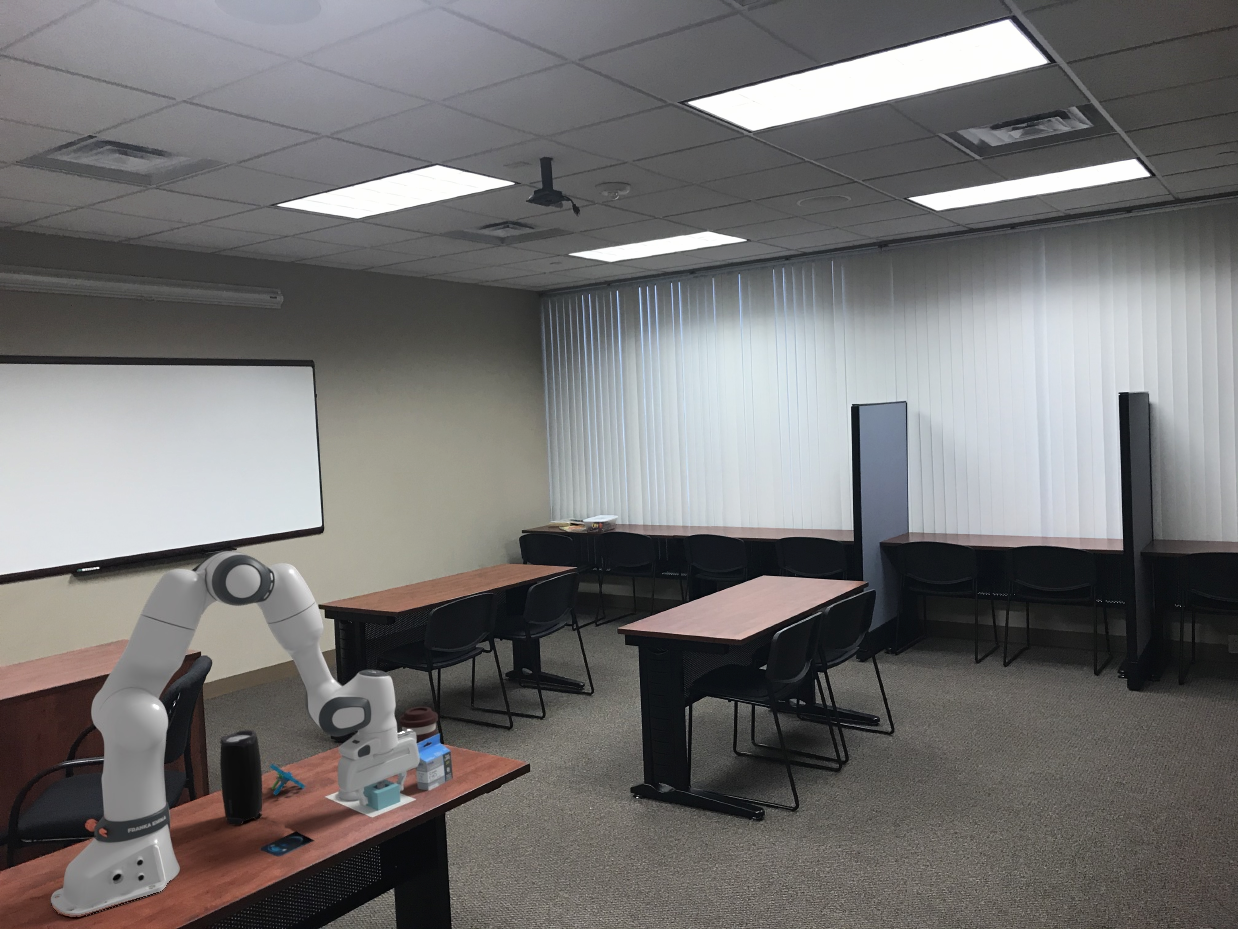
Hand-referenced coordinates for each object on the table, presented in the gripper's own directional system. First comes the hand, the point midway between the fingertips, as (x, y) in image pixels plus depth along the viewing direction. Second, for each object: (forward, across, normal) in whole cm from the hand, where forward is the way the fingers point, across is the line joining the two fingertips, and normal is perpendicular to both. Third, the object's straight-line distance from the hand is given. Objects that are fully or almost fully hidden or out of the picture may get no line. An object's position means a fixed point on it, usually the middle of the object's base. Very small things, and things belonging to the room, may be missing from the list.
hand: (381, 797), depth 213 cm
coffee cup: (+3, -22, -15) cm, 27 cm away
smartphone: (+3, +20, -2) cm, 20 cm away
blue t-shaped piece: (+3, +7, -30) cm, 31 cm away
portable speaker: (+3, +22, -23) cm, 32 cm away
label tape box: (+3, -15, 0) cm, 15 cm away
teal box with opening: (+1, 0, 0) cm, 1 cm away
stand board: (+3, 0, -5) cm, 6 cm away
